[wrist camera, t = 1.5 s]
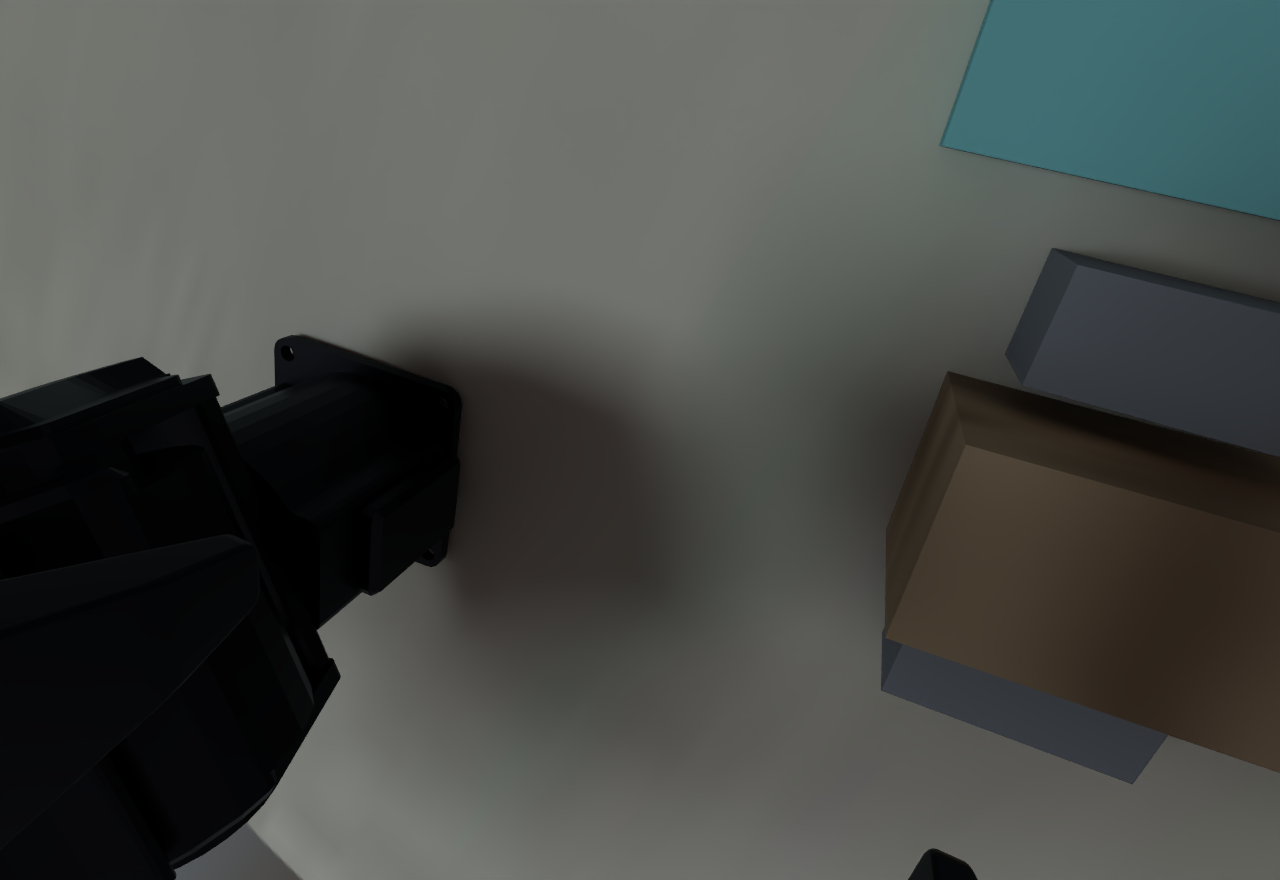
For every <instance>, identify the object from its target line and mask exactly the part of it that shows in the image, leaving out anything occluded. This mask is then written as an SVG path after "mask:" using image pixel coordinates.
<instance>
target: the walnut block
mask: <svg viewBox="0 0 1280 880" xmlns="http://www.w3.org/2000/svg"><path fill="white" fill-rule="evenodd" d="M885 638H887V639H889V640H892V641H895V642H898V643H901V644H904V645H907V646H910V647H913V648H916V649H919V650H922V651H925V652H928V653H930V654H933V655H936V656H939V657H942V658H945V659H948V660H951V661H954V662H957V663H960V664H963V665H966V666H968V667H971V668H974V669H977V670H980V671H983V672H986V673H989V674H992V675H995V676H998V677H1001V678H1004V679H1007V680H1009V681H1012V682H1015V683H1018V684H1021V685H1024V686H1027V687H1030V688H1033V689H1036V690H1039V691H1042V692H1045V693H1047V694H1050V695H1053V696H1056V697H1059V698H1062V699H1065V700H1068V701H1071V702H1074V703H1077V704H1080V705H1083V706H1085V707H1088V708H1091V709H1094V710H1097V711H1100V712H1103V713H1106V714H1109V715H1112V716H1115V717H1118V718H1121V719H1124V720H1126V721H1129V722H1132V723H1135V724H1138V725H1141V726H1144V727H1147V728H1150V729H1153V730H1156V731H1159V732H1162V733H1164V734H1167V735H1170V736H1173V737H1176V738H1179V739H1182V740H1185V741H1188V742H1191V743H1194V744H1197V745H1200V746H1203V747H1205V748H1208V749H1211V750H1214V751H1217V752H1220V753H1223V754H1226V755H1229V756H1232V757H1235V758H1238V759H1241V760H1243V761H1246V762H1249V763H1252V764H1255V765H1258V766H1261V767H1264V768H1267V769H1270V770H1273V771H1276V772H1279V773H1280V458H1277V457H1273V456H1269V455H1265V454H1262V453H1258V452H1254V451H1250V450H1246V449H1242V448H1239V447H1235V446H1231V445H1227V444H1223V443H1219V442H1216V441H1212V440H1208V439H1204V438H1200V437H1197V436H1193V435H1189V434H1185V433H1181V432H1177V431H1174V430H1170V429H1166V428H1162V427H1158V426H1154V425H1151V424H1147V423H1143V422H1139V421H1135V420H1132V419H1128V418H1124V417H1120V416H1116V415H1112V414H1109V413H1105V412H1101V411H1097V410H1093V409H1089V408H1086V407H1082V406H1078V405H1074V404H1070V403H1067V402H1063V401H1059V400H1055V399H1051V398H1047V397H1044V396H1040V395H1036V394H1032V393H1028V392H1025V391H1021V390H1017V389H1013V388H1009V387H1005V386H1002V385H998V384H994V383H990V382H986V381H982V380H979V379H975V378H971V377H967V376H963V375H960V374H956V373H952V372H948V371H947V374H946V376H945V379H944V382H943V384H942V387H941V389H940V392H939V395H938V397H937V400H936V402H935V405H934V407H933V410H932V413H931V415H930V418H929V420H928V423H927V426H926V428H925V431H924V433H923V436H922V438H921V441H920V444H919V446H918V449H917V451H916V454H915V457H914V459H913V462H912V464H911V467H910V469H909V472H908V475H907V477H906V480H905V482H904V485H903V488H902V490H901V493H900V495H899V498H898V500H897V503H896V506H895V508H894V511H893V513H892V516H891V519H890V521H889V524H888V526H887V529H886V596H885Z"/></svg>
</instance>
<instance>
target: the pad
mask: <svg viewBox="0 0 1280 880" xmlns="http://www.w3.org/2000/svg"><path fill="white" fill-rule="evenodd" d="M939 146H943V147H947V148H952V149H956V150H961V151H965V152H970V153H975V154H979V155H984V156H988V157H993V158H997V159H1002V160H1006V161H1011V162H1015V163H1020V164H1025V165H1029V166H1034V167H1038V168H1043V169H1047V170H1052V171H1056V172H1061V173H1066V174H1070V175H1075V176H1079V177H1084V178H1088V179H1093V180H1097V181H1102V182H1106V183H1111V184H1116V185H1120V186H1125V187H1129V188H1134V189H1138V190H1143V191H1147V192H1152V193H1157V194H1161V195H1166V196H1170V197H1175V198H1179V199H1184V200H1188V201H1193V202H1197V203H1202V204H1207V205H1211V206H1216V207H1220V208H1225V209H1229V210H1234V211H1238V212H1243V213H1247V214H1252V215H1257V216H1261V217H1266V218H1270V219H1275V220H1279V221H1280V0H991V1H990V3H989V6H988V9H987V12H986V15H985V18H984V20H983V23H982V26H981V29H980V32H979V35H978V37H977V40H976V43H975V46H974V49H973V52H972V54H971V57H970V60H969V63H968V66H967V68H966V71H965V74H964V77H963V80H962V83H961V85H960V88H959V91H958V94H957V97H956V100H955V102H954V105H953V108H952V111H951V114H950V117H949V119H948V122H947V125H946V128H945V131H944V134H943V136H942V139H941V142H940V145H939Z"/></svg>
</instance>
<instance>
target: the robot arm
mask: <svg viewBox="0 0 1280 880" xmlns="http://www.w3.org/2000/svg"><path fill="white" fill-rule="evenodd" d="M290 348H291V349H292V350H293V352H294V356H293V355H292V353H291V351H290ZM274 357H275V386H274V387H271V388H269V389H266V390H263V391H261V392H258V393H256V394H253V395H251V396H248V397H246V398H243V399H241V400H238V401H235V402H233V403H230V404H228V405H225V406H223V407H220V405H219V403H218V401H217V398H216V397H217V396H219V395H220V394H219V392H218V389H217V387H216V385H215V382H214V380H213V378H212V376H211V374H206V375H202V376H197V377H192V378H187V379H183V380H181V379H180V377H179V375H170V373H169V374H165V373H164V372H162V371H161V370H160V369H158V368H157V367H155V366H154V365H153V364H151V363H150V362H149V361H147V360H146V359H144V358H143V357H140V358H136V359H131V360H127V361H123V362H120V363H116V364H113V365H109V366H106V367H102V368H99V369H95V370H92V371H88V372H85V373H81V374H78V375H74V376H71V377H67V378H64V379H60V380H57V381H53V382H50V383H47V384H44V385H40V386H37V387H34V388H31V389H28V390H25V391H22V392H19V393H16V394H13V395H10V396H7V397H4V398H1V399H0V880H175V879H176V872H175V871H174V869H177V868H179V867H181V866H183V865H185V864H187V863H189V862H190V861H192V860H194V859H196V858H198V857H200V856H202V855H203V854H205V853H206V852H208V851H210V850H211V849H212V848H214V847H216V846H217V845H218V844H220V843H221V842H223V841H224V840H226V839H227V838H228V837H230V836H231V835H232V834H233V833H234V832H236V831H237V830H238V829H239V828H241V827H242V826H243V825H244V824H245V823H247V822H248V821H249V820H250V818H251V817H252V816H253V815H254V814H255V813H256V812H257V811H258V810H259V809H260V808H261V807H262V806H263V805H264V803H265V802H266V801H267V799H268V798H269V796H270V795H271V794H272V792H273V791H274V790H275V788H276V786H277V785H278V783H279V781H280V779H281V778H282V776H283V774H284V773H285V771H286V769H287V768H288V766H289V764H290V763H291V761H292V759H293V757H294V756H295V754H296V752H297V751H298V749H299V747H300V746H301V744H302V742H303V741H304V739H305V737H306V735H307V734H308V732H309V730H310V729H311V727H312V725H313V724H314V722H315V720H316V719H317V717H318V715H319V713H320V712H321V710H322V708H323V707H324V705H325V703H326V702H327V700H328V698H329V697H330V695H331V693H332V691H333V690H334V688H335V686H336V685H337V683H338V681H339V680H340V677H341V676H340V673H339V671H338V669H337V666H336V664H335V662H334V660H333V659H332V658H329V657H328V655H327V653H326V651H325V648H324V646H323V644H322V641H321V639H320V637H319V634H318V632H317V630H318V629H319V628H320V627H321V626H323V625H324V624H325V623H326V622H327V621H329V620H330V619H331V618H332V617H333V616H334V615H336V614H337V613H338V612H339V611H340V610H342V609H343V608H344V607H345V606H346V605H347V604H349V603H350V602H351V601H352V600H353V599H355V598H356V597H357V596H358V595H359V594H360V593H362V592H363V593H366V594H368V595H371V596H372V595H374V594H376V593H378V592H380V591H382V590H383V589H384V588H385V587H386V586H388V585H389V584H390V583H391V582H392V581H393V580H394V579H396V578H397V577H398V576H399V575H400V574H401V573H402V572H404V571H405V570H406V569H407V568H408V567H409V566H410V565H412V564H413V563H414V562H418V563H420V564H423V565H425V566H430V567H433V566H436V565H437V564H439V563H440V562H441V561H442V560H443V559H444V558H445V557H446V554H447V548H448V538H449V531H450V530H451V529H452V528H453V527H454V521H455V511H456V501H457V491H458V482H459V472H460V462H459V459H458V457H457V448H458V438H459V428H460V418H461V408H462V403H461V398H460V396H459V393H458V392H457V391H456V390H455V389H454V388H452V387H450V386H448V385H445V384H442V383H439V382H436V381H433V380H430V379H427V378H424V377H421V376H418V375H415V374H412V373H409V372H406V371H402V370H399V369H396V368H393V367H390V366H387V365H384V364H381V363H378V362H375V361H372V360H369V359H366V358H363V357H360V356H357V355H354V354H351V353H348V352H345V351H342V350H339V349H336V348H333V347H329V346H326V345H323V344H320V343H317V342H314V341H311V340H308V339H305V338H302V337H299V336H295V335H290V336H287V337H284V338H281V339H279V340H278V341H277V342H276V343H275V348H274ZM440 397H442V398H443V399H445V401H446V402H447V406H448V408H445V407H444V406H443V405H442V404H441V402H440ZM429 549H431V550H432V551H433V553H434V554H433V553H431V552H430V551H429ZM908 880H978V879H977V877H976V875H975V873H974V872H973V870H972V869H971V867H970V866H969V865H968V864H967V863H966V862H964V861H962V860H960V859H958V858H956V857H953V856H951V855H949V854H947V853H944V852H942V851H940V850H938V849H933V848H932V849H929V850H928V851H926V852H925V853H924V855H923V856H922V858H921V860H920V861H919V863H918V864H917V866H916V868H915V869H914V871H913V872H912V874H911V876H910V877H909V879H908Z"/></svg>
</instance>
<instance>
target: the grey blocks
mask: <svg viewBox="0 0 1280 880" xmlns="http://www.w3.org/2000/svg"><path fill="white" fill-rule="evenodd" d="M1005 355H1006V357H1007V358H1008V360H1009V362H1010V364H1011V366H1012V368H1013V370H1014V371H1015V373H1016V375H1017V377H1018V379H1019V381H1020V382H1021V384H1022V386H1026V387H1029V388H1033V389H1037V390H1040V391H1044V392H1047V393H1051V394H1055V395H1058V396H1062V397H1065V398H1069V399H1073V400H1076V401H1080V402H1083V403H1087V404H1090V405H1094V406H1098V407H1101V408H1105V409H1108V410H1112V411H1116V412H1119V413H1123V414H1126V415H1130V416H1134V417H1137V418H1141V419H1144V420H1148V421H1152V422H1155V423H1159V424H1162V425H1166V426H1169V427H1173V428H1177V429H1180V430H1184V431H1187V432H1191V433H1195V434H1198V435H1202V436H1205V437H1209V438H1213V439H1216V440H1220V441H1223V442H1227V443H1230V444H1234V445H1238V446H1241V447H1245V448H1248V449H1252V450H1256V451H1259V452H1263V453H1266V454H1270V455H1274V456H1277V457H1280V303H1278V302H1274V301H1270V300H1266V299H1262V298H1257V297H1253V296H1249V295H1245V294H1241V293H1237V292H1232V291H1228V290H1224V289H1220V288H1216V287H1212V286H1208V285H1203V284H1199V283H1195V282H1191V281H1187V280H1183V279H1178V278H1174V277H1170V276H1166V275H1162V274H1158V273H1153V272H1149V271H1145V270H1141V269H1137V268H1133V267H1128V266H1124V265H1120V264H1116V263H1112V262H1108V261H1103V260H1099V259H1095V258H1091V257H1087V256H1083V255H1079V254H1074V253H1070V252H1066V251H1062V250H1058V249H1054V248H1052V249H1051V252H1050V254H1049V256H1048V258H1047V261H1046V263H1045V265H1044V267H1043V270H1042V272H1041V274H1040V277H1039V279H1038V281H1037V283H1036V286H1035V288H1034V290H1033V292H1032V295H1031V297H1030V299H1029V301H1028V304H1027V306H1026V308H1025V310H1024V313H1023V315H1022V317H1021V319H1020V322H1019V324H1018V326H1017V329H1016V331H1015V333H1014V335H1013V338H1012V340H1011V342H1010V344H1009V347H1008V349H1007V351H1006V353H1005ZM881 691H884V692H887V693H889V694H892V695H895V696H897V697H900V698H903V699H905V700H908V701H911V702H913V703H916V704H919V705H921V706H924V707H927V708H929V709H932V710H935V711H937V712H940V713H943V714H945V715H948V716H951V717H954V718H956V719H959V720H962V721H964V722H967V723H970V724H972V725H975V726H978V727H980V728H983V729H986V730H988V731H991V732H994V733H996V734H999V735H1002V736H1004V737H1007V738H1010V739H1012V740H1015V741H1018V742H1020V743H1023V744H1026V745H1028V746H1031V747H1034V748H1037V749H1039V750H1042V751H1045V752H1047V753H1050V754H1053V755H1055V756H1058V757H1061V758H1063V759H1066V760H1069V761H1071V762H1074V763H1077V764H1079V765H1082V766H1085V767H1087V768H1090V769H1093V770H1095V771H1098V772H1101V773H1103V774H1106V775H1109V776H1111V777H1114V778H1117V779H1120V780H1122V781H1125V782H1128V783H1130V784H1133V783H1134V782H1135V780H1136V779H1137V778H1138V776H1139V775H1140V773H1141V772H1142V771H1143V769H1144V768H1145V766H1146V765H1147V764H1148V762H1149V761H1150V759H1151V758H1152V757H1153V755H1154V754H1155V753H1156V751H1157V750H1158V748H1159V747H1160V746H1161V744H1162V743H1163V741H1164V740H1165V739H1166V737H1167V736H1168V735H1167V734H1164V733H1162V732H1159V731H1156V730H1153V729H1150V728H1147V727H1144V726H1141V725H1138V724H1135V723H1132V722H1129V721H1126V720H1124V719H1121V718H1118V717H1115V716H1112V715H1109V714H1106V713H1103V712H1100V711H1097V710H1094V709H1091V708H1088V707H1085V706H1083V705H1080V704H1077V703H1074V702H1071V701H1068V700H1065V699H1062V698H1059V697H1056V696H1053V695H1050V694H1047V693H1045V692H1042V691H1039V690H1036V689H1033V688H1030V687H1027V686H1024V685H1021V684H1018V683H1015V682H1012V681H1009V680H1007V679H1004V678H1001V677H998V676H995V675H992V674H989V673H986V672H983V671H980V670H977V669H974V668H971V667H968V666H966V665H963V664H960V663H957V662H954V661H951V660H948V659H945V658H942V657H939V656H936V655H933V654H930V653H928V652H925V651H922V650H919V649H916V648H913V647H910V646H907V645H904V644H901V643H898V642H895V641H892V640H889V639H887V638H885V627H884V629H883V632H882V675H881Z"/></svg>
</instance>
